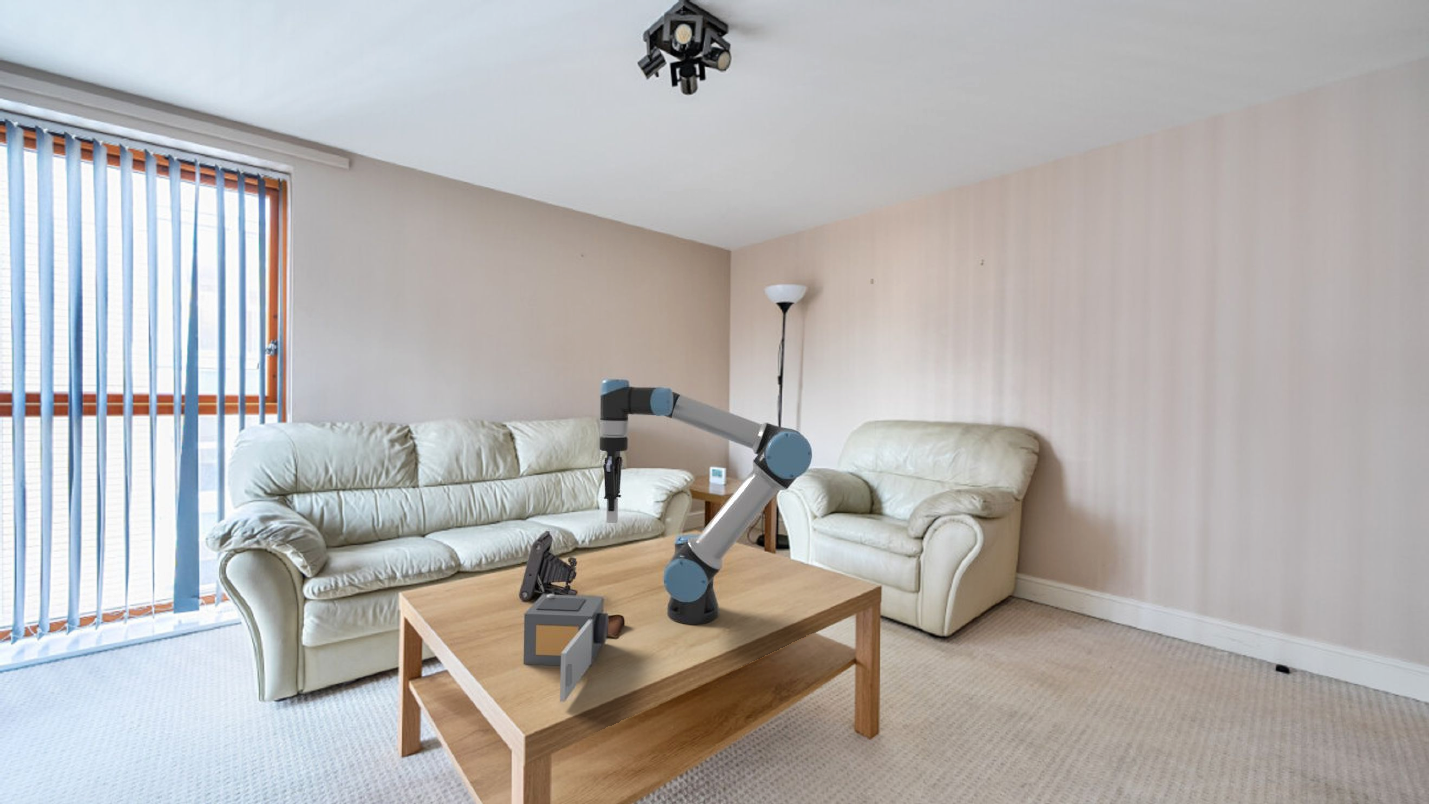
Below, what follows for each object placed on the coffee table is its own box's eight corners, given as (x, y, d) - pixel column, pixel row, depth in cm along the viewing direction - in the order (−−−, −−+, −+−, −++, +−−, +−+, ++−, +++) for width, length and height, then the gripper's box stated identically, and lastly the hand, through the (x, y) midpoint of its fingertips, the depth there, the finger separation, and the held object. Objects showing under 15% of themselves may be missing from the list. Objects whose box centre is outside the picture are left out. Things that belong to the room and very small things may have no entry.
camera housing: (610, 642, 137) (611, 593, 137) (598, 667, 125) (599, 613, 125) (541, 640, 138) (542, 591, 137) (523, 664, 125) (524, 610, 125)
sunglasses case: (551, 637, 139) (555, 610, 142) (557, 640, 145) (561, 614, 149) (619, 638, 139) (622, 611, 143) (623, 641, 145) (625, 615, 149)
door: (588, 660, 125) (588, 618, 125) (595, 661, 125) (596, 619, 125) (559, 701, 108) (560, 653, 108) (568, 702, 108) (569, 653, 108)
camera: (566, 614, 162) (584, 551, 162) (513, 598, 162) (532, 536, 162) (576, 600, 173) (593, 542, 173) (527, 585, 173) (544, 527, 173)
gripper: (605, 433, 151) (604, 516, 151) (594, 437, 138) (592, 527, 138) (632, 434, 150) (630, 516, 151) (622, 438, 137) (620, 528, 138)
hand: (612, 522), depth 145 cm, fingers closed
